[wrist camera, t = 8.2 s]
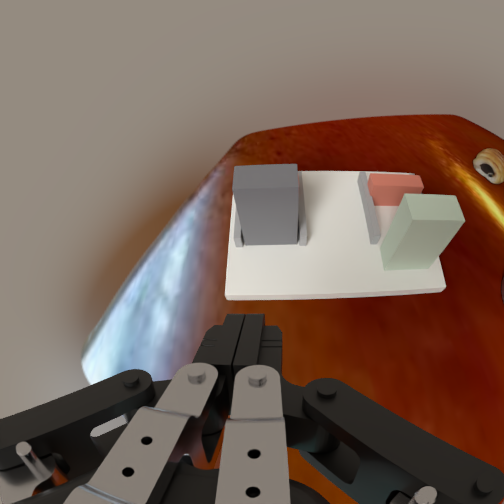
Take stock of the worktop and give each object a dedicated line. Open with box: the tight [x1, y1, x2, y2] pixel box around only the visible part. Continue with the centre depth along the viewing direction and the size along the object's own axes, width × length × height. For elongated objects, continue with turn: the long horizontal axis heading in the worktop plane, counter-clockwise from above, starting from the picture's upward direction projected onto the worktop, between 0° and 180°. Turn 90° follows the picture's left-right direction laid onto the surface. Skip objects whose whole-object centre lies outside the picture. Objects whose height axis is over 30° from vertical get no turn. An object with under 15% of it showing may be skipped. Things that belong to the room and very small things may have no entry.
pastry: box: [473, 148, 504, 184], centre depth 40 cm, size 9×7×4 cm
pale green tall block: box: [380, 193, 465, 271], centre depth 29 cm, size 6×3×10 cm, turn 88°
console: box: [225, 171, 446, 300], centre depth 35 cm, size 26×18×6 cm
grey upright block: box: [232, 164, 299, 246], centre depth 32 cm, size 6×3×10 cm, turn 88°
